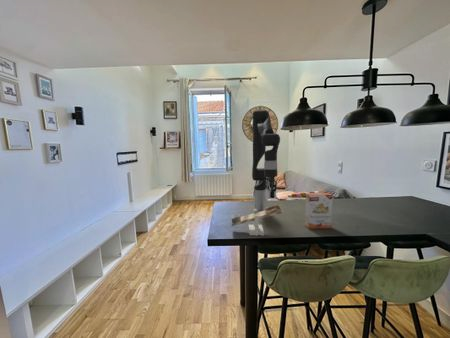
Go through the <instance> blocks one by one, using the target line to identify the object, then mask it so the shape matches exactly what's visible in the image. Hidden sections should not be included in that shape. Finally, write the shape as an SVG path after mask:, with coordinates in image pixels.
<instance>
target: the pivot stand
mask: <svg viewBox="0 0 450 338" xmlns="http://www.w3.org/2000/svg"><path fill="white" fill-rule="evenodd" d="M253 213H257V209H254V208H253V212H252V214H253ZM248 233H249V236H250V235H256V236H257V235H261V237H262V235H263V237H264V236H265V231H264V228H263V225H262V224H259V219H258V215H255V220H254V221H253V224H248ZM256 236H255V237H256ZM257 237H258V236H257Z"/></svg>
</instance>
